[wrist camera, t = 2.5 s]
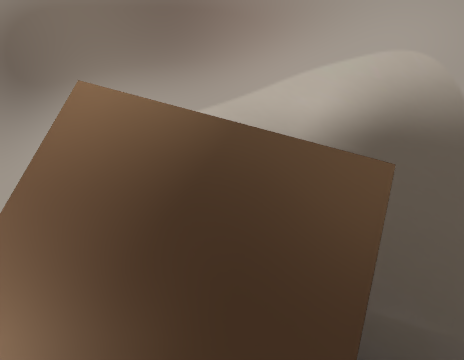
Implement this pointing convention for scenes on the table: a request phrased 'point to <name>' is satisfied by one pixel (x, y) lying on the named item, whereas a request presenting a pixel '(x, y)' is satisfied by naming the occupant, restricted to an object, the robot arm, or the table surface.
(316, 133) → the table surface
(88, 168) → the walnut pillar
